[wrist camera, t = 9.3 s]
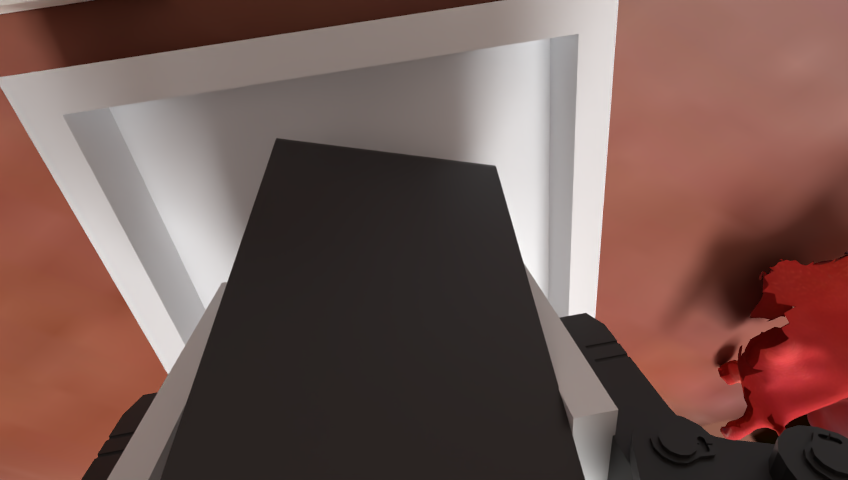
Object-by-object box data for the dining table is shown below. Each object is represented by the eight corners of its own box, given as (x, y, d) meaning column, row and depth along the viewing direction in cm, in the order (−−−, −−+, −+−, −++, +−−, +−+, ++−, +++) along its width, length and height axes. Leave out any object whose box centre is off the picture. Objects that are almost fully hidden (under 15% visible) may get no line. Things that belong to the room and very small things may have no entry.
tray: (242, 420, 19) (225, 473, 17) (65, 68, 12) (-5, 77, 10) (563, 361, 19) (588, 404, 17) (575, -10, 12) (620, -18, 10)
